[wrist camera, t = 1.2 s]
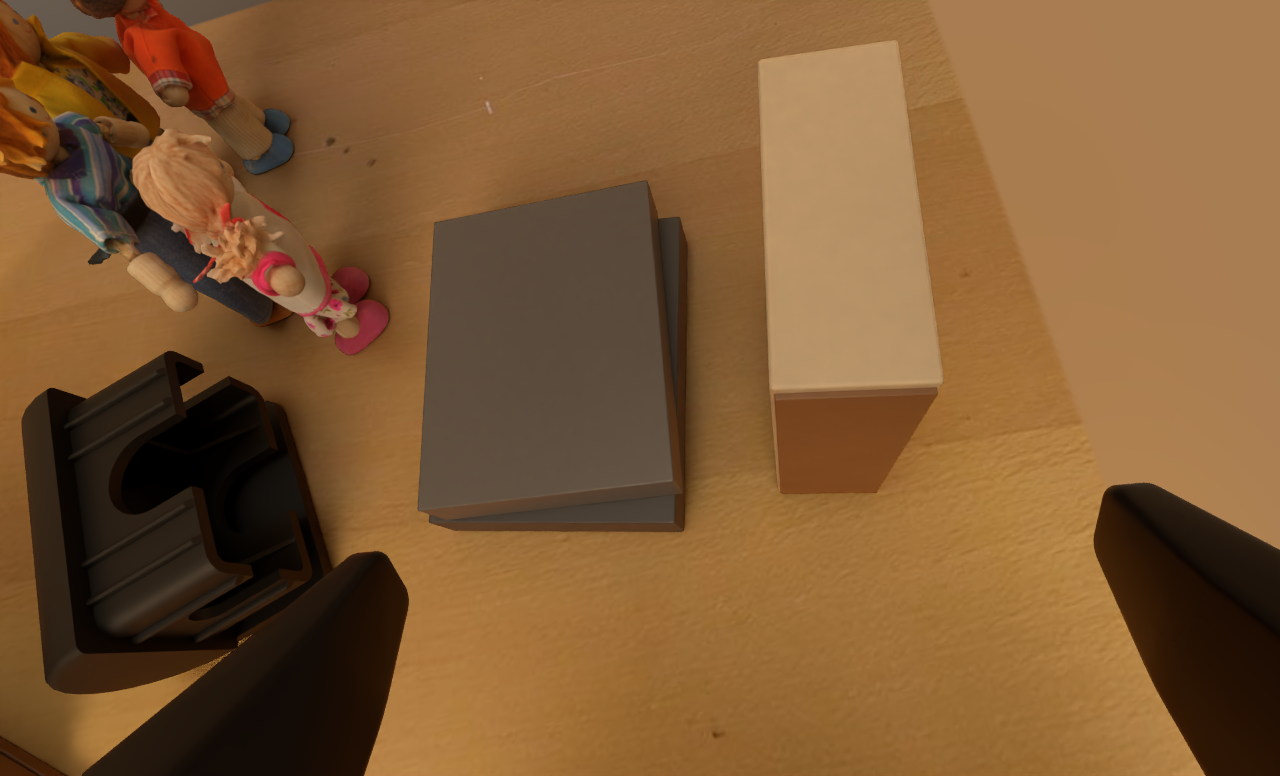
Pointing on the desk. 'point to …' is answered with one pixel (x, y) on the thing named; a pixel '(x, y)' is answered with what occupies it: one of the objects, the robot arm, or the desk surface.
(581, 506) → the grey books
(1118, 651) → the desk surface
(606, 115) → the desk surface
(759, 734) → the desk surface
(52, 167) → the doll family
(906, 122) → the cream book
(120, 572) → the end cap
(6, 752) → the book rack
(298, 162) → the desk surface
